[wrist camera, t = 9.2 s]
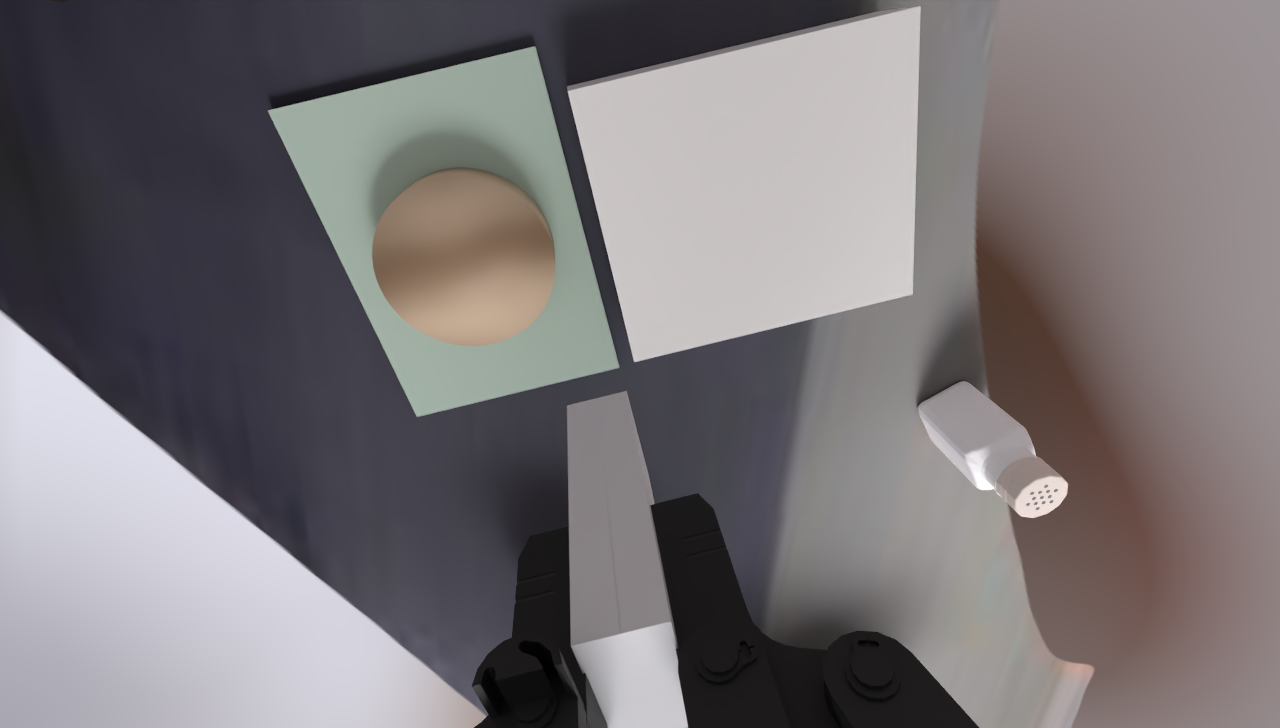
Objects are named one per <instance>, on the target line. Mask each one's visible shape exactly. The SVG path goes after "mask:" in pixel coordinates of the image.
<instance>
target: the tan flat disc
mask: <svg viewBox="0 0 1280 728" xmlns="http://www.w3.org/2000/svg"><path fill="white" fill-rule="evenodd" d="M372 260H373V268H374V272H375V276H376V279H377V282H378V285H379V287H380V289H381V291H382V293H383V295H384V297H385V298H386V300H387V301H388V303H389V304H390V305H391V307H392V308H393V309H394V310H395V311H396V313H397V314H398V315H399V316H400V317H401V318H402V319H404V320H405V321H406V322H407V323H408V324H409V325H411V326H412V327H414V328H415V329H417V330H418V331H420V332H422V333H424V334H425V335H427V336H429V337H432V338H434V339H437V340H439V341H443V342H446V343H450V344H455V345H461V346H483V345H489V344H494V343H498V342H501V341H504V340H507V339H509V338H511V337H513V336H515V335H517V334H518V333H520V332H522V331H523V330H525V329H526V328H527V327H528V326H529V325H531V324H532V323H533V322H534V321H535V320H536V318H537V317H538V316H539V315H540V313H541V312H542V311H543V309H544V308H545V306H546V304H547V302H548V300H549V297H550V295H551V292H552V289H553V283H554V277H555V249H554V241H553V237H552V233H551V230H550V227H549V224H548V222H547V220H546V218H545V216H544V214H543V213H542V211H541V210H540V208H539V207H538V205H537V204H536V203H535V202H534V201H533V199H532V198H531V197H530V196H529V195H528V194H527V193H526V192H525V191H523V190H522V189H521V188H520V187H518V186H517V185H516V184H514V183H513V182H511V181H509V180H508V179H506V178H504V177H502V176H500V175H497V174H494V173H492V172H489V171H485V170H481V169H476V168H466V167H459V168H448V169H442V170H439V171H435V172H432V173H430V174H427V175H425V176H423V177H421V178H419V179H418V180H417V181H415V182H414V183H412V184H411V185H410V186H409V187H408V188H406V189H405V190H404V191H403V192H402V193H401V194H400V195H399V196H398V197H397V198H396V199H395V200H394V201H393V202H392V203H391V204H390V205H389V206H388V208H387V209H386V210H385V212H384V213H383V215H382V217H381V219H380V220H379V222H378V225H377V228H376V231H375V234H374V239H373V244H372Z"/></svg>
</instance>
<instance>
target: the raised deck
mask: <svg viewBox="0 0 1280 728" xmlns="http://www.w3.org/2000/svg"><path fill="white" fill-rule="evenodd" d="M920 10H921V6H917V7H909V8H901V9H893V10H885V11H877V12H873V13H869V14H865V15H860V16H856V17H852V18H848V19H844V20H840V21H836V22H831V23H827V24H823V25H819V26H815V27H811V28H807V29H802V30H798V31H794V32H790V33H786V34H782V35H777V36H773V37H769V38H765V39H761V40H757V41H753V42H748V43H744V44H740V45H736V46H732V47H728V48H724V49H719V50H715V51H711V52H707V53H703V54H699V55H695V56H690V57H686V58H682V59H678V60H674V61H670V62H665V63H661V64H657V65H653V66H649V67H645V68H641V69H636V70H632V71H628V72H624V73H620V74H616V75H612V76H607V77H603V78H599V79H595V80H591V81H587V82H583V83H578V84H574V85H570V86H567V91H568V95H569V99H570V103H571V107H572V111H573V115H574V119H575V123H576V127H577V131H578V136H579V140H580V144H581V148H582V152H583V156H584V160H585V164H586V168H587V172H588V176H589V180H590V184H591V188H592V192H593V197H594V201H595V205H596V209H597V213H598V217H599V221H600V225H601V229H602V233H603V237H604V241H605V245H606V249H607V253H608V257H609V262H610V266H611V270H612V274H613V278H614V282H615V286H616V290H617V294H618V298H619V302H620V306H621V310H622V314H623V318H624V323H625V327H626V331H627V335H628V339H629V343H630V347H631V351H632V355H633V359H634V362H637V361H641V360H645V359H650V358H654V357H658V356H662V355H666V354H670V353H674V352H678V351H682V350H687V349H691V348H695V347H699V346H703V345H707V344H711V343H715V342H719V341H723V340H728V339H732V338H736V337H740V336H744V335H748V334H752V333H756V332H760V331H765V330H769V329H773V328H777V327H781V326H785V325H789V324H793V323H797V322H802V321H806V320H810V319H814V318H818V317H822V316H826V315H830V314H834V313H838V312H843V311H847V310H851V309H855V308H859V307H863V306H867V305H871V304H875V303H880V302H884V301H888V300H892V299H896V298H900V297H904V296H908V295H912V294H913V265H914V229H915V192H916V156H917V119H918V83H919V46H920Z"/></svg>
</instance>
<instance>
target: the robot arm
mask: <svg viewBox="0 0 1280 728" xmlns="http://www.w3.org/2000/svg"><path fill="white" fill-rule="evenodd" d="M567 438H568V501H569V527H566V528H562V529H558V530H554V531H550V532H546V533H542V534H538V535H533V536H530V538H529V540H528V542H527V543H526V545H525V547H524V549H523V551H522V553H521V555H520V557H519V561H518V573H517V583H518V585H516V597H515V600H516V604H515V609H514V620H513V632H512V638H510V639H507V640H505V641H503V642H502V643H501V644H499V645H498V646H497V647H496V648H495V649H493V650H492V651H491V652H490V653H489V654H488V655H487V656H486V658H485V659H484V661H483V662H482V663H481V665H480V666H479V668H478V669H477V672H476V675H475V678H474V682H473V685H472V687H473V689H474V691H475V692H476V694H477V696H478V697H479V699H480V701H481V702H482V704H483V706H484V707H485V709H486V711H487V712H488V714H489V715H488V716H487V717H486V718H485V719H484V720H483V721H482V722H481V723H480V724H478V725H477V726H476V727H474V728H687V727H688V728H979V727H978V726H977V725H976V724H975V723H974V721H973V720H972V719H971V718H970V717H969V716H968V715H967V714H966V713H965V711H964V710H963V709H962V708H961V707H960V706H959V705H958V704H957V703H956V701H955V700H954V699H953V698H952V697H951V696H950V695H949V694H948V693H947V691H946V690H945V689H944V688H943V687H942V686H941V685H940V684H939V683H938V681H937V680H936V679H935V678H934V677H933V676H932V675H931V674H930V673H929V671H928V670H927V669H926V668H925V667H924V666H923V665H922V664H921V663H920V661H919V660H918V659H917V658H916V657H915V656H914V655H913V654H912V653H911V652H910V651H909V650H908V649H907V648H905V647H904V646H903V645H902V644H900V643H899V642H898V641H897V640H895V639H893V638H890V637H888V636H885V635H883V634H880V633H878V632H868V631H856V632H852V633H849V634H845V635H842V636H841V637H839V638H838V639H837V640H836V641H835V642H833V643H832V644H831V645H830V646H829V648H828V650H819V649H806V648H796V647H791V646H786V645H783V644H780V643H778V642H776V641H773V640H771V639H770V638H769V637H767V636H766V635H764V634H763V633H762V632H761V631H760V630H759V629H758V628H757V627H756V626H755V624H754V623H753V622H752V619H751V617H750V615H749V613H748V611H747V608H746V605H745V602H744V599H743V596H742V593H741V590H740V587H739V584H738V581H737V578H736V575H735V572H734V569H733V566H732V563H731V560H730V557H729V554H728V551H727V549H726V545H725V542H724V539H723V536H722V533H721V531H720V527H719V524H718V521H717V518H716V515H715V512H714V509H713V508H712V507H711V506H710V505H709V504H708V503H707V502H706V501H705V500H704V499H703V498H702V497H701V496H700V495H699V494H693V495H689V496H685V497H681V498H677V499H673V500H669V501H665V502H661V503H657V504H655V503H654V499H653V494H652V489H651V484H650V479H649V475H648V471H647V467H646V463H645V459H644V456H643V452H642V448H641V444H640V440H639V437H638V433H637V429H636V425H635V421H634V418H633V414H632V410H631V406H630V402H629V399H628V395H627V391H624V392H620V393H616V394H612V395H608V396H604V397H600V398H596V399H592V400H588V401H583V402H579V403H575V404H571V405H567Z"/></svg>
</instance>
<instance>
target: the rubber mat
mask: <svg viewBox="0 0 1280 728" xmlns="http://www.w3.org/2000/svg"><path fill="white" fill-rule="evenodd" d="M268 112H269V114H270V116H271V118H272V120H273V123H274V125H275V127H276V129H277V131H278V133H279V135H280V137H281V139H282V141H283V143H284V145H285V147H286V149H287V151H288V153H289V155H290V157H291V159H292V162H293V164H294V166H295V168H296V170H297V172H298V174H299V176H300V178H301V180H302V182H303V184H304V186H305V188H306V190H307V192H308V194H309V196H310V198H311V201H312V203H313V205H314V207H315V209H316V211H317V213H318V215H319V217H320V219H321V221H322V223H323V225H324V227H325V229H326V231H327V233H328V235H329V237H330V240H331V242H332V244H333V246H334V248H335V250H336V252H337V254H338V256H339V258H340V260H341V262H342V264H343V266H344V268H345V270H346V272H347V274H348V276H349V278H350V281H351V283H352V285H353V287H354V289H355V291H356V293H357V295H358V297H359V299H360V301H361V303H362V305H363V307H364V309H365V311H366V313H367V315H368V317H369V320H370V322H371V324H372V326H373V328H374V330H375V332H376V334H377V336H378V338H379V340H380V342H381V344H382V346H383V348H384V350H385V352H386V354H387V356H388V359H389V361H390V363H391V365H392V367H393V369H394V371H395V373H396V375H397V377H398V379H399V381H400V383H401V385H402V387H403V389H404V391H405V393H406V395H407V398H408V400H409V402H410V404H411V406H412V408H413V410H414V412H415V414H416V416H417V417H419V416H423V415H427V414H431V413H435V412H440V411H444V410H448V409H452V408H456V407H460V406H464V405H468V404H472V403H477V402H481V401H485V400H489V399H493V398H497V397H501V396H505V395H509V394H513V393H518V392H522V391H526V390H530V389H534V388H538V387H542V386H546V385H550V384H555V383H559V382H563V381H567V380H571V379H575V378H579V377H583V376H587V375H592V374H596V373H600V372H604V371H608V370H612V369H616V368H619V363H618V359H617V355H616V351H615V348H614V344H613V340H612V336H611V332H610V328H609V325H608V321H607V317H606V313H605V309H604V306H603V302H602V298H601V294H600V290H599V286H598V283H597V279H596V275H595V271H594V267H593V264H592V260H591V256H590V252H589V248H588V244H587V241H586V237H585V233H584V229H583V225H582V222H581V218H580V214H579V210H578V206H577V202H576V199H575V195H574V191H573V187H572V183H571V180H570V176H569V172H568V168H567V164H566V160H565V157H564V153H563V149H562V145H561V141H560V138H559V134H558V130H557V126H556V122H555V118H554V115H553V111H552V107H551V103H550V99H549V96H548V92H547V88H546V84H545V80H544V76H543V73H542V69H541V65H540V61H539V57H538V53H537V50H536V46H534V47H530V48H526V49H521V50H517V51H513V52H509V53H505V54H501V55H497V56H492V57H488V58H484V59H480V60H476V61H472V62H467V63H463V64H459V65H455V66H451V67H447V68H443V69H438V70H434V71H430V72H426V73H422V74H418V75H413V76H409V77H405V78H401V79H397V80H393V81H388V82H384V83H380V84H376V85H372V86H368V87H364V88H359V89H355V90H351V91H347V92H343V93H339V94H334V95H330V96H326V97H322V98H318V99H314V100H310V101H305V102H301V103H297V104H293V105H289V106H285V107H280V108H276V109H272V110H268ZM459 167H466V168H476V169H481V170H485V171H489V172H492V173H494V174H497V175H500V176H502V177H504V178H506V179H508V180H509V181H511V182H513V183H514V184H516V185H517V186H518V187H520V188H521V189H522V190H523V191H525V192H526V193H527V194H528V195H529V196H530V197H531V198H532V199H533V201H534V202H535V203H536V204H537V205H538V207H539V208H540V210H541V211H542V213H543V214H544V216H545V218H546V220H547V222H548V224H549V227H550V230H551V233H552V237H553V241H554V249H555V277H554V283H553V289H552V292H551V295H550V297H549V300H548V302H547V304H546V306H545V308H544V309H543V311H542V312H541V313H540V315H539V316H538V317H537V318H536V320H535V321H534V322H533V323H532V324H531V325H529V326H528V327H527V328H526V329H525V330H523V331H522V332H520V333H518V334H517V335H515V336H513V337H511V338H509V339H507V340H504V341H501V342H498V343H494V344H489V345H483V346H461V345H455V344H450V343H446V342H443V341H439V340H437V339H434V338H432V337H429V336H427V335H425V334H424V333H422V332H420V331H418V330H417V329H415V328H414V327H412V326H411V325H409V324H408V323H407V322H406V321H405V320H404V319H402V318H401V317H400V316H399V315H398V314H397V313H396V311H395V310H394V309H393V308H392V307H391V305H390V304H389V303H388V301H387V300H386V298H385V297H384V295H383V293H382V291H381V289H380V287H379V285H378V282H377V279H376V276H375V272H374V268H373V260H372V244H373V239H374V234H375V231H376V228H377V225H378V222H379V220H380V219H381V217H382V215H383V213H384V212H385V210H386V209H387V208H388V206H389V205H390V204H391V203H392V202H393V201H394V200H395V199H396V198H397V197H398V196H399V195H400V194H401V193H402V192H403V191H404V190H405V189H406V188H408V187H409V186H410V185H411V184H412V183H414V182H415V181H417V180H418V179H419V178H421V177H423V176H425V175H427V174H430V173H432V172H435V171H439V170H442V169H448V168H459Z"/></svg>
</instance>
